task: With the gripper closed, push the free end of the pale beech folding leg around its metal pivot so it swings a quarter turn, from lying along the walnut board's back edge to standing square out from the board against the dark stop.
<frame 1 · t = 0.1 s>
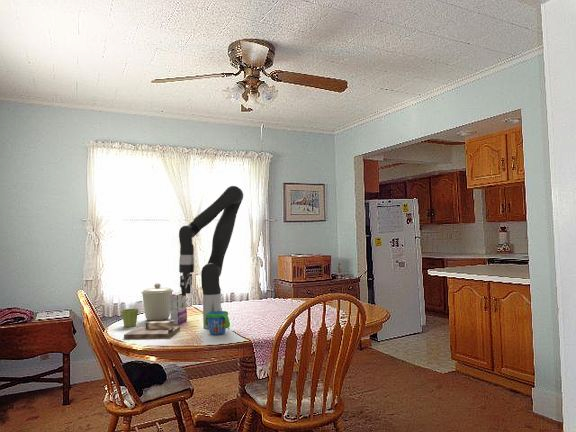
hand: (186, 294, 225), 17 cm above the table, tool pointing down, fingers open, 8 cm apart
candy bar box: (178, 323, 239), on the table
plant pot: (130, 326, 234), on the table
folding leg: (160, 324, 215), point 4 cm above the table, hinge at 0.0°
canister: (157, 319, 251), on the table
snack cup: (217, 334, 207), on the table
walnut board: (153, 334, 210), on the table
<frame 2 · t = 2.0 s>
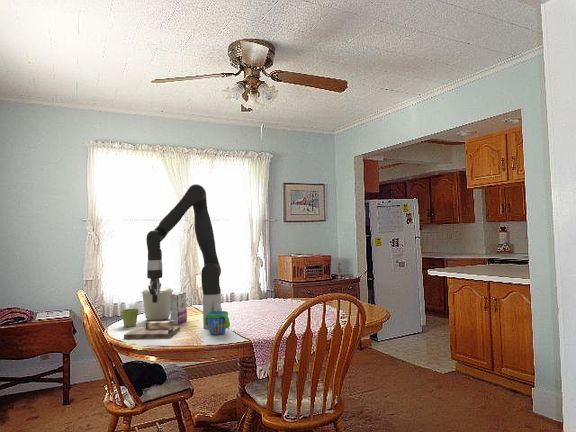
hand: (154, 302, 222), 14 cm above the table, tool pointing down, fingers closed
nothing on the table moved.
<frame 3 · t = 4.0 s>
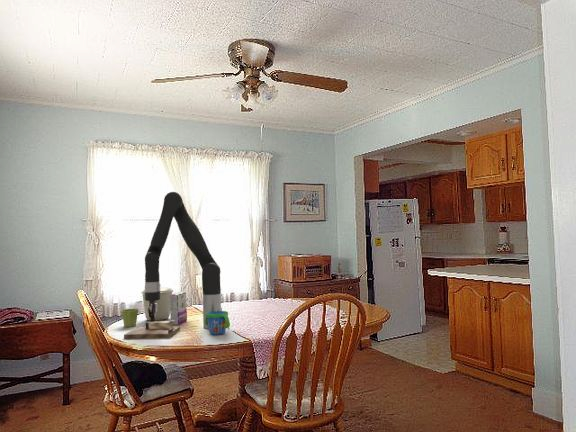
hand: (152, 324, 219), 3 cm above the table, tool pointing down, fingers closed
folding leg: (160, 324, 215), point 4 cm above the table, hinge at 0.2°, touching gripper
everything else where it was.
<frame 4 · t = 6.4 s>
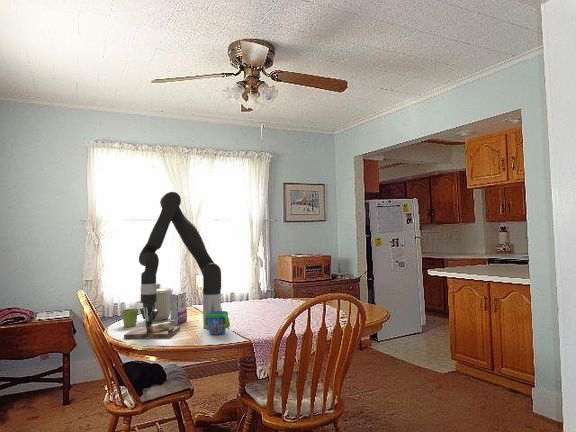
hand: (148, 328, 209), 3 cm above the table, tool pointing down, fingers closed
folding leg: (161, 326, 210), point 4 cm above the table, hinge at 48.4°, touching gripper
everything else where it was.
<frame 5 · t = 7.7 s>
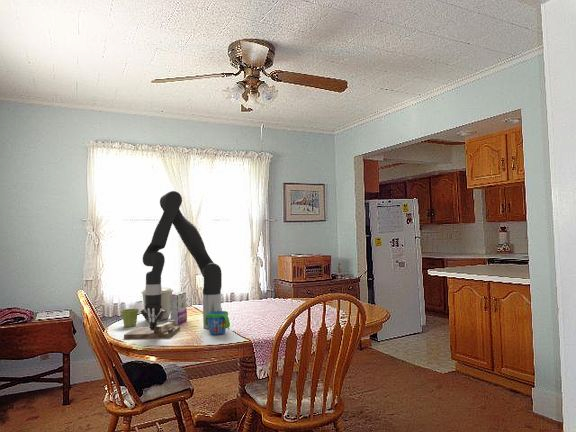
hand: (153, 329, 206), 3 cm above the table, tool pointing down, fingers closed
folding leg: (165, 326, 209), point 4 cm above the table, hinge at 73.8°, touching gripper
everything else where it was.
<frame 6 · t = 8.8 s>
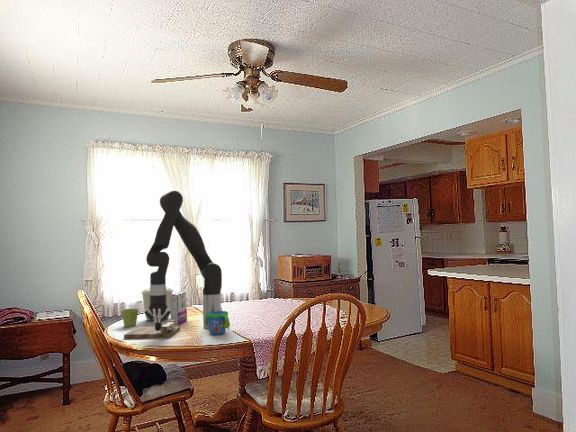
hand: (158, 330, 204), 3 cm above the table, tool pointing down, fingers closed
folding leg: (168, 326, 209), point 4 cm above the table, hinge at 90.3°, touching gripper
everything else where it was.
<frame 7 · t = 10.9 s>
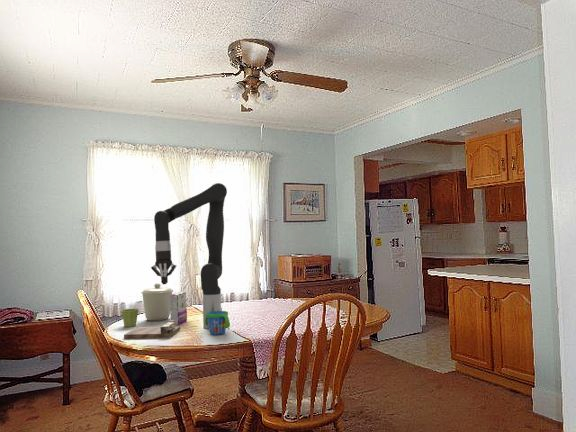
hand: (164, 284, 218), 24 cm above the table, tool pointing down, fingers closed
folding leg: (168, 326, 209), point 4 cm above the table, hinge at 90.3°
everything else where it was.
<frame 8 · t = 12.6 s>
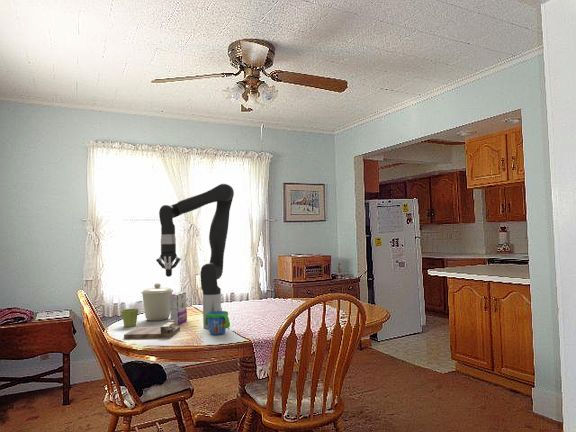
hand: (168, 276, 224), 27 cm above the table, tool pointing down, fingers closed
nothing on the table moved.
at the end: folding leg at +90° (first picture: +0°); candy bar box moved 0.2 cm from its start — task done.
